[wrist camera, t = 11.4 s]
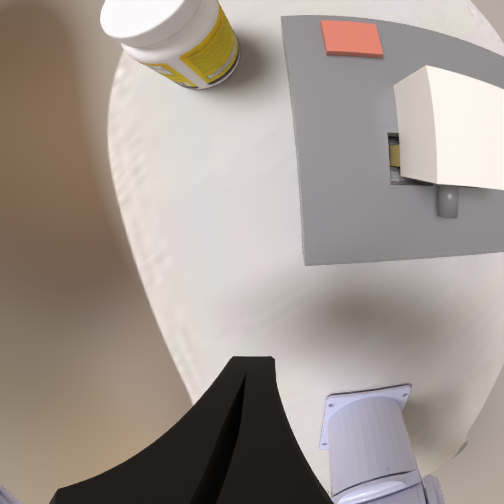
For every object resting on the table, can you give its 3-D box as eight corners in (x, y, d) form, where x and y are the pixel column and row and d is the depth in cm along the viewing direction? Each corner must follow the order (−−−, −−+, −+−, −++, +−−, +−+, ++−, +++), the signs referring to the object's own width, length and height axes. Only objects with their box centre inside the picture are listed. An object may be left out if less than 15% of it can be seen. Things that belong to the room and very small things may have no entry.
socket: (496, 240, 15) (520, 253, 12) (302, 251, 17) (305, 270, 14) (486, 63, 11) (509, 55, 8) (281, 33, 13) (280, 11, 10)
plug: (453, 206, 14) (509, 229, 9) (388, 205, 15) (434, 230, 10) (449, 102, 12) (504, 89, 7) (382, 92, 13) (426, 65, 7)
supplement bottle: (237, 22, 13) (202, -56, 5) (245, 83, 14) (207, 22, 6) (167, 38, 14) (97, -17, 6) (170, 97, 15) (87, 64, 7)
